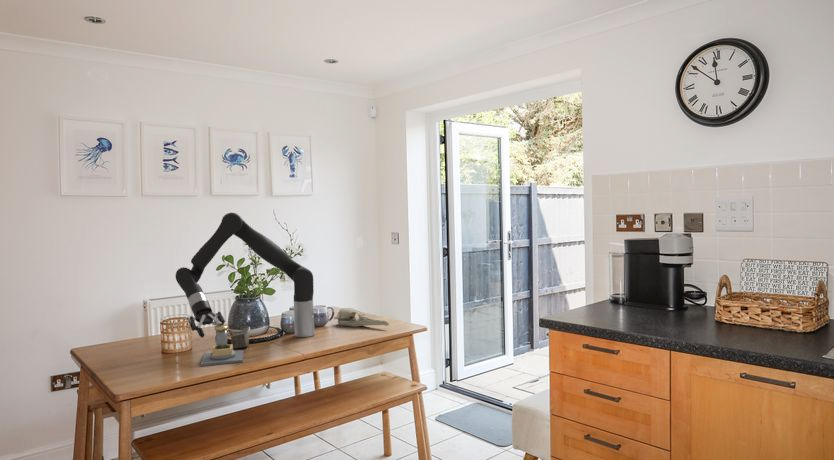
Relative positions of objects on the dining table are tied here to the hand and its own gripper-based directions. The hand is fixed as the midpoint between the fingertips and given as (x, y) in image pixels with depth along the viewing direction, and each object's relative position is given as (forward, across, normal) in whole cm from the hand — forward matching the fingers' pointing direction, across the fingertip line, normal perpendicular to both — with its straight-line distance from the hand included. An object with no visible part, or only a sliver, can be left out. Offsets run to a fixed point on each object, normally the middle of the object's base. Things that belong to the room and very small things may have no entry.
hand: (212, 334), depth 230 cm
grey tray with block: (+12, 0, +1) cm, 12 cm away
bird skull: (+13, +77, 0) cm, 78 cm away
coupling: (+10, 0, -1) cm, 10 cm away
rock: (+2, +16, +11) cm, 20 cm away
